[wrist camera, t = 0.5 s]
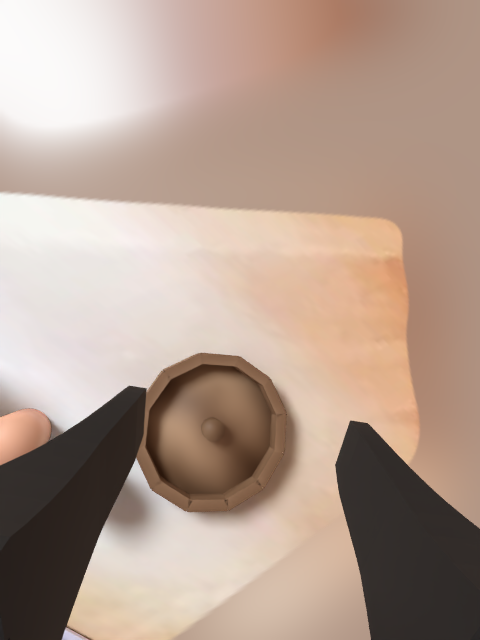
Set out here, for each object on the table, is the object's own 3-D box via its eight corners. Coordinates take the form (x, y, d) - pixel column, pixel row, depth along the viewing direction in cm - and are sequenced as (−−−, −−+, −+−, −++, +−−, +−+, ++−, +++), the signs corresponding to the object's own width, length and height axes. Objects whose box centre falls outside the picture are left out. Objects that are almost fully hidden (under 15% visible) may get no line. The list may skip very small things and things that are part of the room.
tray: (227, 528, 35) (233, 541, 33) (103, 451, 33) (100, 458, 31) (300, 404, 38) (311, 407, 36) (192, 327, 36) (195, 324, 34)
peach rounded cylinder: (30, 464, 31) (9, 482, 27) (-11, 439, 31) (-40, 453, 26) (61, 424, 32) (46, 435, 28) (21, 399, 32) (-1, 406, 27)
